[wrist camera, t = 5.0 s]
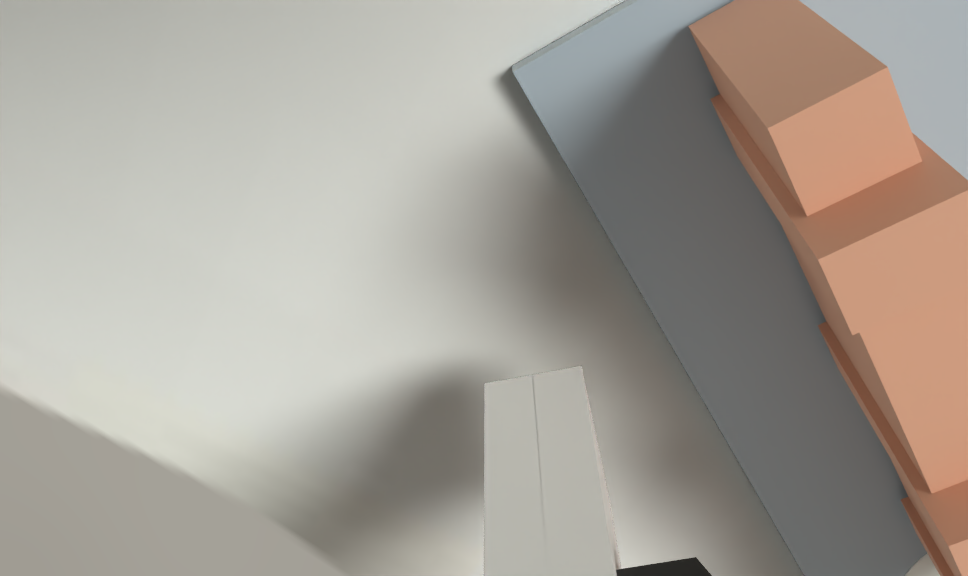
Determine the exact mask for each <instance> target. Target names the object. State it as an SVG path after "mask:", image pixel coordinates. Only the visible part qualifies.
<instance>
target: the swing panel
mask: <svg viewBox="0 0 968 576" xmlns="http://www.w3.org/2000/svg"><path fill="white" fill-rule="evenodd" d="M688 27H689V29H690V31H691V33H692V35H693V37H694V39H695V42H696V44H697V46H698V48H699V50H700V52H701V54H702V57H703V59H704V61H705V63H706V65H707V67H708V69H709V72H710V74H711V76H712V78H713V80H714V82H715V84H716V86H717V89H718V91H719V93H720V94H719V95H717V96H715V97H713V98H711V99H710V100H711V102H712V104H713V106H714V108H715V110H716V113H717V115H718V117H719V119H720V121H721V123H722V125H723V127H724V129H725V131H726V134H727V136H728V138H729V140H730V142H731V144H732V146H733V148H734V150H735V153H736V155H737V157H738V158H739V160H740V161H741V163H742V164H743V166H744V167H745V169H746V171H747V172H748V174H749V175H750V177H751V178H752V180H753V181H754V183H755V185H756V186H757V188H758V189H759V191H760V192H761V194H762V195H763V197H764V199H765V200H766V202H767V203H768V205H769V206H770V208H771V209H772V211H773V213H774V214H775V216H776V217H777V219H778V220H779V222H780V223H781V225H782V228H783V230H784V232H785V234H786V236H787V238H788V240H789V242H790V245H791V247H792V249H793V251H794V253H795V255H796V257H797V260H798V262H799V264H800V266H801V268H802V270H803V272H804V275H805V277H806V279H807V281H808V283H809V285H810V287H811V290H812V292H813V294H814V296H815V298H816V300H817V302H818V304H819V307H820V309H821V311H822V313H823V315H824V317H825V319H826V322H824V323H822V324H819V325H818V327H819V329H820V331H821V334H822V336H823V338H824V340H825V342H826V344H827V346H828V348H829V350H830V353H831V355H832V357H833V359H834V361H835V363H836V365H837V367H838V369H839V371H840V373H841V374H842V376H843V378H844V380H845V381H846V383H847V385H848V386H849V388H850V390H851V392H852V393H853V395H854V397H855V398H856V400H857V402H858V404H859V405H860V407H861V409H862V410H863V412H864V414H865V416H866V417H867V419H868V421H869V422H870V424H871V426H872V428H873V429H874V431H875V433H876V434H877V436H878V438H879V440H880V441H881V443H882V445H883V446H884V448H885V450H886V452H887V453H888V455H889V457H890V458H891V460H892V463H893V465H894V467H895V469H896V471H897V473H898V475H899V478H900V480H901V482H902V484H903V486H904V488H905V490H906V493H907V495H908V497H906V498H903V499H901V502H902V504H903V506H904V508H905V510H906V513H907V515H908V517H909V519H910V521H911V523H912V525H913V527H914V529H915V532H916V534H917V535H918V537H919V539H920V541H921V543H922V544H923V546H924V548H925V550H926V551H927V553H928V555H929V557H930V559H931V560H932V562H933V564H934V566H935V568H936V569H937V571H938V573H939V575H940V576H968V180H967V179H966V178H964V177H963V176H962V175H961V174H960V173H959V172H958V171H956V170H955V169H954V168H953V167H952V166H951V165H949V164H948V163H947V162H946V161H945V160H944V159H942V158H941V157H940V156H939V155H938V154H937V153H935V152H934V151H933V150H932V149H931V148H930V147H928V146H927V145H926V144H925V143H924V142H923V141H922V140H920V139H919V138H918V137H917V136H916V135H915V134H913V133H912V132H911V129H910V126H909V123H908V121H907V118H906V115H905V113H904V110H903V107H902V104H901V102H900V99H899V96H898V93H897V91H896V88H895V85H894V83H893V80H892V77H891V74H890V72H889V69H888V67H887V66H886V65H885V64H883V63H882V62H881V61H879V60H878V59H877V58H875V57H874V56H873V55H871V54H870V53H869V52H867V51H866V50H864V49H863V48H862V47H860V46H859V45H858V44H856V43H855V42H854V41H852V40H851V39H850V38H848V37H847V36H846V35H844V34H843V33H842V32H840V31H839V30H838V29H836V28H835V27H834V26H832V25H831V24H830V23H828V22H827V21H826V20H824V19H823V18H822V17H820V16H819V15H818V14H816V13H815V12H814V11H812V10H811V9H810V8H808V7H807V6H806V5H804V4H803V3H802V2H800V1H799V0H734V1H732V2H731V3H729V4H727V5H725V6H723V7H722V8H720V9H718V10H716V11H714V12H713V13H711V14H709V15H707V16H705V17H704V18H702V19H700V20H698V21H696V22H695V23H693V24H691V25H689V26H688Z"/></svg>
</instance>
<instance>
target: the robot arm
mask: <svg viewBox="0 0 968 576" xmlns="http://www.w3.org/2000/svg"><path fill="white" fill-rule="evenodd" d="M484 576H711V574H710V573H709V572H708V571H707V570H706V569H705V567H704V566H703V565H702V564H701V563H700V562H699V560H698V559H697V558H696V557H695V558H689V559H682V560H676V561H670V562H663V563H657V564H650V565H644V566H638V567H631V568H625V569H621V564H620V558H619V552H618V546H617V540H616V534H615V528H614V522H613V516H612V510H611V504H610V498H609V494H608V489H607V484H606V479H605V475H604V470H603V465H602V460H601V456H600V451H599V446H598V441H597V437H596V432H595V427H594V422H593V418H592V413H591V408H590V403H589V399H588V394H587V389H586V384H585V380H584V375H583V370H582V366H577V367H571V368H566V369H560V370H555V371H549V372H544V373H538V374H533V375H527V376H522V377H517V378H511V379H506V380H500V381H495V382H489V383H484Z"/></svg>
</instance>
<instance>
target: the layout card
mask: <svg viewBox="0 0 968 576" xmlns="http://www.w3.org/2000/svg"><path fill="white" fill-rule="evenodd" d="M732 1H734V0H626V1H624V2H623V3H621V4H619V5H617V6H616V7H614V8H612V9H610V10H609V11H607V12H605V13H603V14H602V15H600V16H598V17H596V18H595V19H593V20H591V21H589V22H588V23H586V24H584V25H583V26H581V27H579V28H577V29H576V30H574V31H572V32H570V33H569V34H567V35H565V36H563V37H562V38H560V39H558V40H556V41H555V42H553V43H551V44H549V45H548V46H546V47H544V48H542V49H541V50H539V51H537V52H536V53H534V54H532V55H530V56H529V57H527V58H525V59H523V60H522V61H520V62H518V63H516V64H515V65H513V66H512V71H513V74H514V75H515V77H516V79H517V81H518V82H519V84H520V86H521V87H522V89H523V91H524V93H525V94H526V96H527V98H528V100H529V101H530V103H531V105H532V106H533V108H534V110H535V112H536V113H537V115H538V117H539V119H540V120H541V122H542V124H543V125H544V127H545V129H546V131H547V132H548V134H549V136H550V138H551V139H552V141H553V143H554V144H555V146H556V148H557V150H558V151H559V153H560V155H561V157H562V158H563V160H564V162H565V163H566V165H567V167H568V169H569V170H570V172H571V174H572V176H573V177H574V179H575V181H576V182H577V184H578V186H579V188H580V189H581V191H582V193H583V195H584V196H585V198H586V200H587V201H588V203H589V205H590V207H591V208H592V210H593V212H594V214H595V215H596V217H597V219H598V220H599V222H600V224H601V226H602V227H603V229H604V231H605V233H606V234H607V236H608V238H609V239H610V241H611V243H612V245H613V246H614V248H615V250H616V252H617V253H618V255H619V257H620V258H621V260H622V262H623V264H624V265H625V267H626V269H627V271H628V272H629V274H630V276H631V277H632V279H633V281H634V283H635V284H636V286H637V288H638V290H639V291H640V293H641V295H642V296H643V298H644V300H645V302H646V303H647V305H648V307H649V309H650V310H651V312H652V314H653V315H654V317H655V319H656V321H657V322H658V324H659V326H660V328H661V329H662V331H663V333H664V334H665V336H666V338H667V340H668V341H669V343H670V345H671V347H672V348H673V350H674V352H675V353H676V355H677V357H678V359H679V360H680V362H681V364H682V365H683V367H684V369H685V371H686V372H687V374H688V376H689V378H690V379H691V381H692V383H693V384H694V386H695V388H696V390H697V391H698V393H699V395H700V397H701V398H702V400H703V402H704V403H705V405H706V407H707V409H708V410H709V412H710V414H711V416H712V417H713V419H714V421H715V422H716V424H717V426H718V428H719V429H720V431H721V433H722V435H723V436H724V438H725V440H726V441H727V443H728V445H729V447H730V448H731V450H732V452H733V454H734V455H735V457H736V459H737V460H738V462H739V464H740V466H741V467H742V469H743V471H744V473H745V474H746V476H747V478H748V479H749V481H750V483H751V485H752V486H753V488H754V490H755V492H756V493H757V495H758V497H759V498H760V500H761V502H762V504H763V505H764V507H765V509H766V511H767V512H768V514H769V516H770V517H771V519H772V521H773V523H774V524H775V526H776V528H777V530H778V531H779V533H780V535H781V536H782V538H783V540H784V542H785V543H786V545H787V547H788V549H789V550H790V552H791V554H792V555H793V557H794V559H795V561H796V562H797V564H798V566H799V568H800V569H801V571H802V573H803V574H804V576H940V575H939V573H938V571H937V569H936V568H935V566H934V564H933V562H932V560H931V559H930V557H929V555H928V553H927V551H926V550H925V548H924V546H923V544H922V543H921V541H920V539H919V537H918V535H917V534H916V532H915V529H914V527H913V525H912V523H911V521H910V519H909V517H908V515H907V513H906V510H905V508H904V506H903V504H902V502H901V499H903V498H906V497H908V495H907V493H906V490H905V488H904V486H903V484H902V482H901V480H900V478H899V475H898V473H897V471H896V469H895V467H894V465H893V463H892V460H891V458H890V457H889V455H888V453H887V452H886V450H885V448H884V446H883V445H882V443H881V441H880V440H879V438H878V436H877V434H876V433H875V431H874V429H873V428H872V426H871V424H870V422H869V421H868V419H867V417H866V416H865V414H864V412H863V410H862V409H861V407H860V405H859V404H858V402H857V400H856V398H855V397H854V395H853V393H852V392H851V390H850V388H849V386H848V385H847V383H846V381H845V380H844V378H843V376H842V374H841V373H840V371H839V369H838V367H837V365H836V363H835V361H834V359H833V357H832V355H831V353H830V350H829V348H828V346H827V344H826V342H825V340H824V338H823V336H822V334H821V331H820V329H819V327H818V325H819V324H822V323H824V322H826V319H825V317H824V315H823V313H822V311H821V309H820V307H819V304H818V302H817V300H816V298H815V296H814V294H813V292H812V290H811V287H810V285H809V283H808V281H807V279H806V277H805V275H804V272H803V270H802V268H801V266H800V264H799V262H798V260H797V257H796V255H795V253H794V251H793V249H792V247H791V245H790V242H789V240H788V238H787V236H786V234H785V232H784V230H783V228H782V225H781V223H780V222H779V220H778V219H777V217H776V216H775V214H774V213H773V211H772V209H771V208H770V206H769V205H768V203H767V202H766V200H765V199H764V197H763V195H762V194H761V192H760V191H759V189H758V188H757V186H756V185H755V183H754V181H753V180H752V178H751V177H750V175H749V174H748V172H747V171H746V169H745V167H744V166H743V164H742V163H741V161H740V160H739V158H738V157H737V155H736V153H735V150H734V148H733V146H732V144H731V142H730V140H729V138H728V136H727V134H726V131H725V129H724V127H723V125H722V123H721V121H720V119H719V117H718V115H717V113H716V110H715V108H714V106H713V104H712V102H711V100H710V99H711V98H713V97H715V96H717V95H719V94H720V93H719V91H718V89H717V86H716V84H715V82H714V80H713V78H712V76H711V74H710V72H709V69H708V67H707V65H706V63H705V61H704V59H703V57H702V54H701V52H700V50H699V48H698V46H697V44H696V42H695V39H694V37H693V35H692V33H691V31H690V29H689V27H688V26H689V25H691V24H693V23H695V22H696V21H698V20H700V19H702V18H704V17H705V16H707V15H709V14H711V13H713V12H714V11H716V10H718V9H720V8H722V7H723V6H725V5H727V4H729V3H731V2H732ZM799 1H800V2H802V3H803V4H804V5H806V6H807V7H808V8H810V9H811V10H812V11H814V12H815V13H816V14H818V15H819V16H820V17H822V18H823V19H824V20H826V21H827V22H828V23H830V24H831V25H832V26H834V27H835V28H836V29H838V30H839V31H840V32H842V33H843V34H844V35H846V36H847V37H848V38H850V39H851V40H852V41H854V42H855V43H856V44H858V45H859V46H860V47H862V48H863V49H864V50H866V51H867V52H869V53H870V54H871V55H873V56H874V57H875V58H877V59H878V60H879V61H881V62H882V63H883V64H885V65H886V66H887V67H888V69H889V72H890V74H891V77H892V80H893V83H894V85H895V88H896V91H897V93H898V96H899V99H900V102H901V104H902V107H903V110H904V113H905V115H906V118H907V121H908V123H909V126H910V129H911V132H912V133H913V134H915V135H916V136H917V137H918V138H919V139H920V140H922V141H923V142H924V143H925V144H926V145H927V146H928V147H930V148H931V149H932V150H933V151H934V152H935V153H937V154H938V155H939V156H940V157H941V158H942V159H944V160H945V161H946V162H947V163H948V164H949V165H951V166H952V167H953V168H954V169H955V170H956V171H958V172H959V173H960V174H961V175H962V176H963V177H964V178H966V179H967V180H968V0H799Z"/></svg>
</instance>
